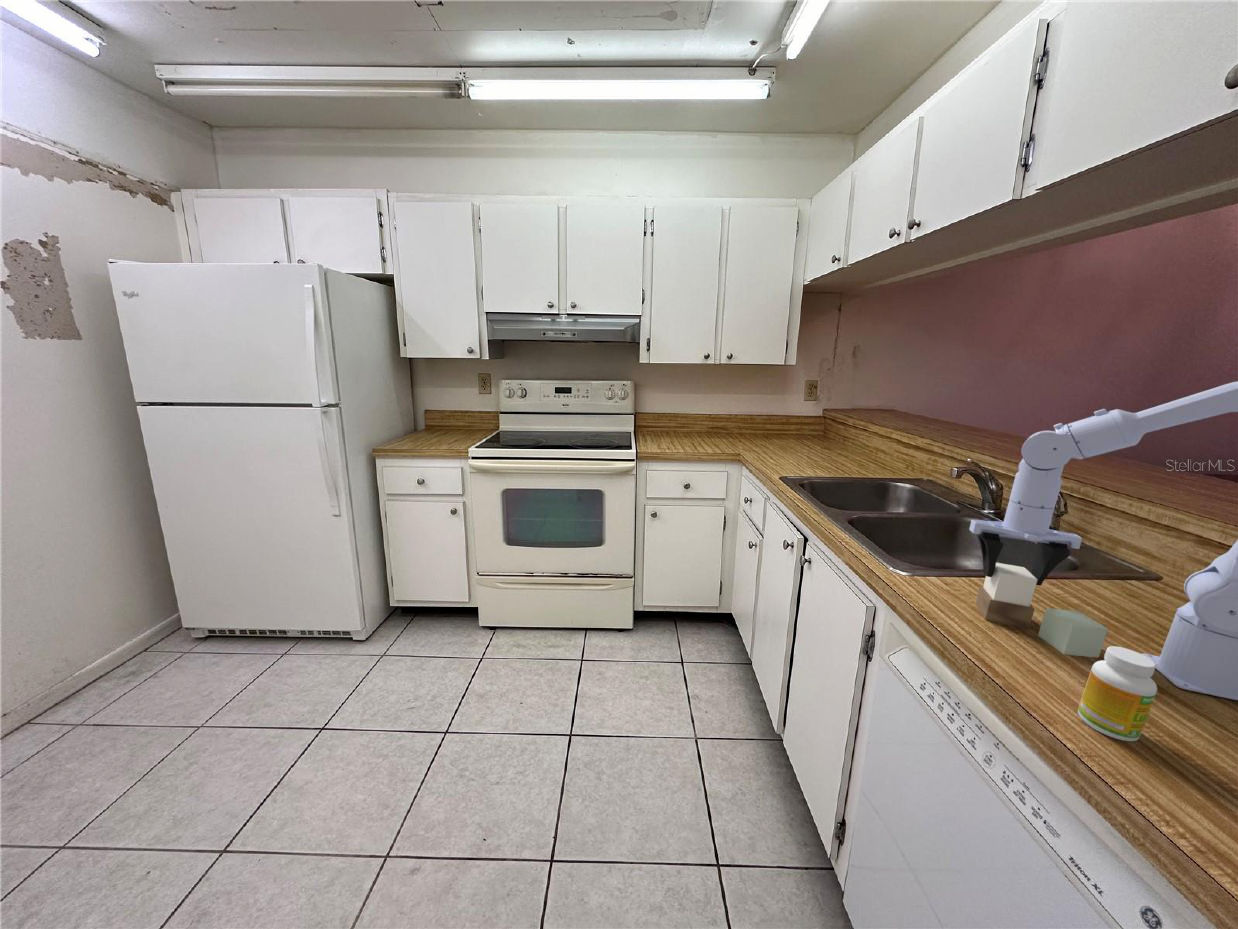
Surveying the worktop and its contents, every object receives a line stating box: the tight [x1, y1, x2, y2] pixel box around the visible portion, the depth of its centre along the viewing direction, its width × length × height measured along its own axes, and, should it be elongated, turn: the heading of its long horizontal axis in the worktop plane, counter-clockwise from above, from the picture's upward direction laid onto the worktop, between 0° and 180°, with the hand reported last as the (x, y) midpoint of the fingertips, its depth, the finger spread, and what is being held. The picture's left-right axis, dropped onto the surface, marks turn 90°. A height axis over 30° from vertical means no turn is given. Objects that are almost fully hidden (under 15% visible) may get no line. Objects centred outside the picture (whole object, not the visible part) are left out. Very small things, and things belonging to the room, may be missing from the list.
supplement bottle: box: [1077, 645, 1158, 742], centre depth 56 cm, size 5×5×10 cm
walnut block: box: [975, 584, 1035, 630], centre depth 81 cm, size 6×6×4 cm
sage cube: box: [1037, 608, 1109, 658], centre depth 73 cm, size 5×5×5 cm
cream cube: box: [983, 562, 1037, 607], centre depth 80 cm, size 5×5×5 cm
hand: (1011, 578), depth 80 cm, fingers open, 6 cm apart
